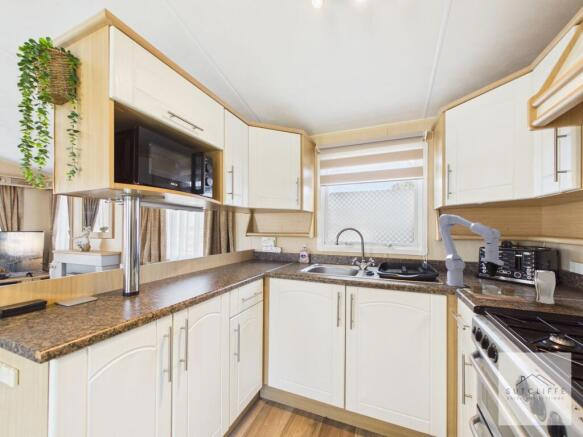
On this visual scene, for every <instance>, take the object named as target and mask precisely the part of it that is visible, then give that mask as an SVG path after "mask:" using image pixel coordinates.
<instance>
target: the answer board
mask: <svg viewBox="0 0 583 437" xmlns="http://www.w3.org/2000/svg"><path fill="white" fill-rule="evenodd" d="M462 290H464V291H465V292H467V293H469V294H470V295H471V296H473V297H474V298H477V299H487V300H498V301H499V300H500V301H510V302H518V303H519V302H520V303H521V302H522V303H530V301H529V300H527V299H525V298H523V297H520V296H518V295H517V294H515V296H505V295H503V294H501V290H498V295H492V294H488V293H486V292H485V289H483V288H482V294H480V293H473V292H471V291H470V288H467V287H462Z"/></svg>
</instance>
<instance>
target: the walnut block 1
mask: <svg viewBox="0 0 583 437" xmlns="http://www.w3.org/2000/svg"><path fill="white" fill-rule="evenodd" d="M469 287H470V291H471V292H473V293H480V294H482V289H483V285H481V284H478V283H470V286H469Z"/></svg>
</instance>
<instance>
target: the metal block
mask: <svg viewBox="0 0 583 437" xmlns="http://www.w3.org/2000/svg"><path fill="white" fill-rule="evenodd" d="M484 285H485V289H484V290H485V292H486V293H488V294H492V295H498V291H499V287H498V286H497V285H492V284H491V285H490V284H484Z"/></svg>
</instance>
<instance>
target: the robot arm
mask: <svg viewBox="0 0 583 437" xmlns="http://www.w3.org/2000/svg"><path fill="white" fill-rule="evenodd" d="M437 221H438V230H439V235H440V238H441V241H442V244H443V247H444V250H445V253H446V257H445V268H446V269H447V274H446V280H447V281H445V283H446V284H447V285H448V286H450V287H451V286H452V287H459V288H460V287H461V288H466V286H465V285H464V284H463V281H464V280H463V279H464V278H463V273H464V272H463V271H464V269H465V268H466V263H465V261H464V259H463V258H462V257H461V256H460V255H459V254H458V252H457V249H456V246H455V243H454V242H455V241H454V240H453V237H452V235H451V231H450V230H451V229H452V228H453V227H454V226H455V225H457V224H459V225H462V226H463V227H466V228H468V229H470V231H471V232H472V233H474V234H477V235H479V236H482V238H483V239H484V257H480V258H481V259H480V260H481V262H483V265H484V266H485V268H486V271H487V274H488V276H489V277H491V278H494V277H496V274H497V271H498V270H499V268H500V267H501V266H504V264H505V262H504V260H500V257H499V254H500V253H499V249H500V248H499V246H500V244H499V243H500V242H499V239H500V238H501V236H502V233H501V232H500V230H498V229H497V228H492V227H491V226H486V225H484V224H483V223H482V222H472V221H470V220H467V219H465V218H463V217H461V216H459V215H457V214H446V213H445V214H444V213H443V214H440V216H439V218H437Z"/></svg>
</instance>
